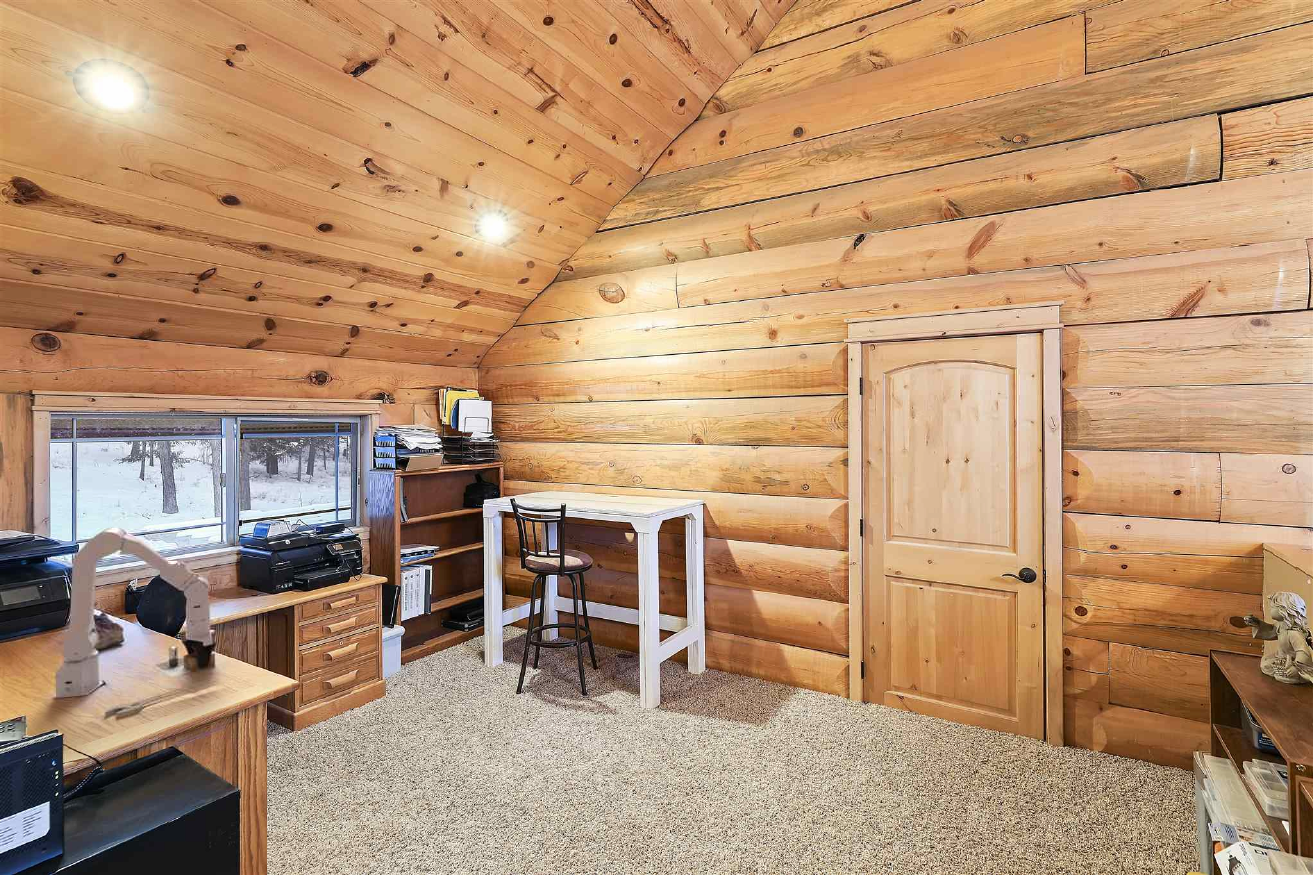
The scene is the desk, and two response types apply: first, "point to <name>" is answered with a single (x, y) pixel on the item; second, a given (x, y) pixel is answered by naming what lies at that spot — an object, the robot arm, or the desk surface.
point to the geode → (107, 632)
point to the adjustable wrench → (134, 707)
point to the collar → (192, 662)
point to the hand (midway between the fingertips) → (199, 664)
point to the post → (172, 659)
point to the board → (176, 670)
